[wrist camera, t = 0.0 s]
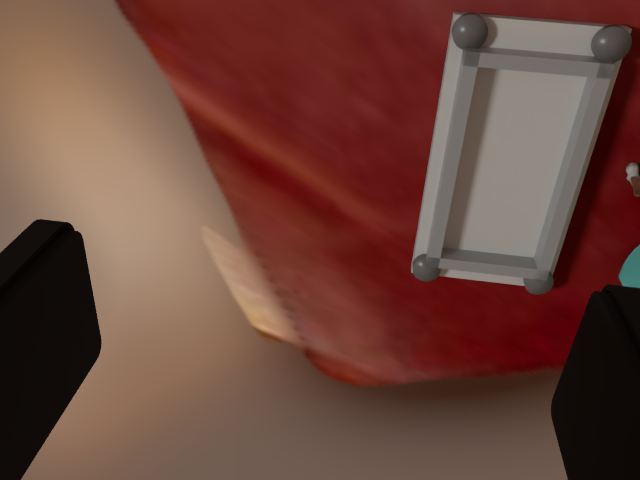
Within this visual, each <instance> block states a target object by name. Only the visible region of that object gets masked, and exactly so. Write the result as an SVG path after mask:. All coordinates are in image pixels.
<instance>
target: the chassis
mask: <svg viewBox="0 0 640 480" xmlns="http://www.w3.org/2000/svg"><path fill="white" fill-rule="evenodd" d="M631 31H632V29H631V28H630V27H628V26H622V25H610V24H598V23H586V22H574V21H562V20H550V19H538V18H526V17H514V16H502V15H490V14H478V13H465V12H453V18H452V24H451V30H450V36H449V42H448V48H447V54H446V60H445V66H444V72H443V78H442V84H441V90H440V96H439V102H438V108H437V114H436V120H435V126H434V132H433V138H432V144H431V150H430V156H429V162H428V168H427V174H426V180H425V186H424V192H423V198H422V204H421V210H420V216H419V222H418V228H417V234H416V240H415V246H414V252H413V258H412V265H411V273H413V274H414V276H415V277H416V278H417V279H419V280H421V281H432V280H434V279H436V278H437V277H438V276H444V277H453V278H461V279H470V280H479V281H487V282H496V283H504V284H513V285H522V286H525V288H526V290H527V291H529V292H530V293H532V294H543V293H546V292H548V291H549V290H550V289H551V288H552V287H553V284H554V279H553V273H554V270H555V267H556V264H557V261H558V258H559V255H560V251H561V248H562V245H563V242H564V239H565V236H566V233H567V230H568V227H569V223H570V220H571V217H572V214H573V211H574V208H575V205H576V202H577V199H578V196H579V192H580V189H581V186H582V183H583V180H584V177H585V174H586V171H587V168H588V165H589V161H590V158H591V155H592V152H593V149H594V146H595V143H596V140H597V137H598V133H599V130H600V127H601V124H602V121H603V118H604V115H605V112H606V109H607V106H608V102H609V99H610V96H611V93H612V90H613V87H614V84H615V81H616V78H617V75H618V71H619V68H620V65H621V62H622V59H623V58H624V57H625V56H626V55H627V54H628V52H629V50H630V48H631V45H632V38H631V35H630V34H631Z"/></svg>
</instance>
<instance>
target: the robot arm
mask: <svg viewBox="0 0 640 480" xmlns="http://www.w3.org/2000/svg"><path fill="white" fill-rule="evenodd" d="M100 350H101V335H100V330H99V325H98V319H97V313H96V308H95V302H94V297H93V291H92V286H91V280H90V275H89V269H88V264H87V259H86V253H85V247H84V242H83V238H82V235H81V233H79V232H78V231H75V230H74V228H73V226H72V225H71V224H70V223H68V222H59V221H50V220H42V219H40V220H36V221H34V222H33V223H32V224H31V225H30V226H29V227H27V229H25V230H24V231H23V232H22V233H21V234H20V235H19V236H18V237H17V238H16V239H15V240H14V241H13V242H11V243H10V244H9V245H8V246H7V247H6V248H5V249H4V250H3V251H2V252H1V253H0V480H21V478H22V477H23V475H24V473H25V472H26V470H27V469H28V467H29V466H30V464H31V462H32V461H33V459H34V458H35V456H36V455H37V453H38V451H39V450H40V448H41V447H42V445H43V444H44V442H45V440H46V439H47V437H48V436H49V434H50V433H51V431H52V429H53V428H54V426H55V425H56V423H57V422H58V420H59V418H60V417H61V415H62V414H63V412H64V411H65V409H66V407H67V406H68V404H69V403H70V401H71V400H72V398H73V396H74V395H75V393H76V392H77V390H78V389H79V387H80V385H81V384H82V382H83V380H84V379H85V377H86V376H87V374H88V372H89V371H90V369H91V368H92V366H93V365H94V363H95V362H96V360H97V358H98V356H99V354H100ZM551 416H552V421H553V425H554V428H555V432H556V436H557V440H558V443H559V447H560V451H561V455H562V459H563V462H564V466H565V470H566V474H567V477H568V480H640V288H635V287H627V286H618V285H606V286H605V287H604V288H603V290H602V292H599V291H595V292H593V293H592V295H591V297H590V299H589V302H588V304H587V307H586V310H585V312H584V315H583V318H582V320H581V323H580V326H579V329H578V331H577V334H576V337H575V339H574V342H573V345H572V347H571V350H570V353H569V355H568V358H567V361H566V364H565V366H564V369H563V372H562V374H561V377H560V380H559V382H558V385H557V388H556V390H555V393H554V396H553V399H552V405H551Z"/></svg>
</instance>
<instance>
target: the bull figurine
mask: <svg viewBox="0 0 640 480" xmlns="http://www.w3.org/2000/svg"><path fill="white" fill-rule="evenodd" d="M626 172H627V174H628V176H627V180H629V181H630V182H631V184H632V186H633V190H634V196H636V197H639V196H640V176H639V165H638V164H637V163H633V162H632V163H630V164H629V165H628V166H627V168H626Z"/></svg>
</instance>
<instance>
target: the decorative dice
mask: <svg viewBox="0 0 640 480" xmlns="http://www.w3.org/2000/svg"><path fill="white" fill-rule="evenodd" d="M619 279H620V281H621V283H622V285H623V286H627V287H635V288H640V245H639V246H638V247H636V248H635V249H634V250H633V251H632V253H631V254H630V255H629V256H628V258H627V259H626V261H625V263H624V264H623V266H622V269H621V271H620V274H619Z"/></svg>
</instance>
